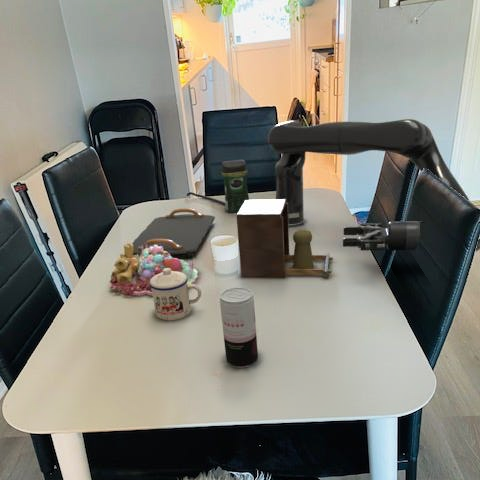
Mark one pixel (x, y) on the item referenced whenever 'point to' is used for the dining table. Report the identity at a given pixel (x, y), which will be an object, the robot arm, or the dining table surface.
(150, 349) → the dining table surface
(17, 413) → the dining table surface
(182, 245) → the serving tray
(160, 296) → the teacup with lid
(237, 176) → the coffee jar
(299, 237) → the olive peg doll
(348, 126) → the robot arm
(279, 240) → the cabinet
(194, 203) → the dining table surface
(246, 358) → the beverage can
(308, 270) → the drawer
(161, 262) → the pastel sphere sculpture
